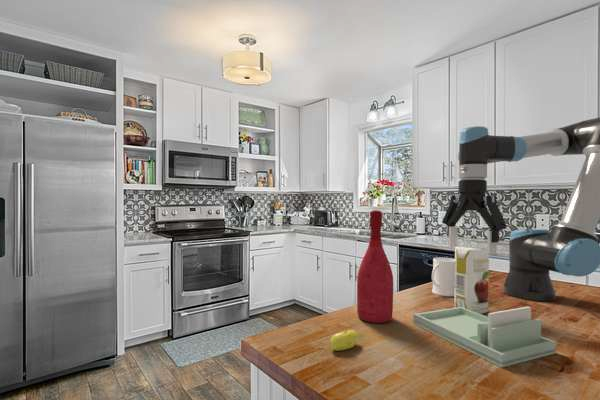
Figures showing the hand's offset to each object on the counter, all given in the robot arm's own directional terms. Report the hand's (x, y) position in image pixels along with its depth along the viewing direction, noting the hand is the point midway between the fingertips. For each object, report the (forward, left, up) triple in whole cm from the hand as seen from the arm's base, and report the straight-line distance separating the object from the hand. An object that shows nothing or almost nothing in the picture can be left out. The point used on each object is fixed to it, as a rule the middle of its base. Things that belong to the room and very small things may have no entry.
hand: (470, 250), depth 100 cm
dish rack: (+15, +15, -18) cm, 28 cm away
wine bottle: (+31, -5, -18) cm, 36 cm away
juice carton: (0, 0, -18) cm, 18 cm away
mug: (-6, -17, -18) cm, 26 cm away
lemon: (+48, +8, -19) cm, 52 cm away
